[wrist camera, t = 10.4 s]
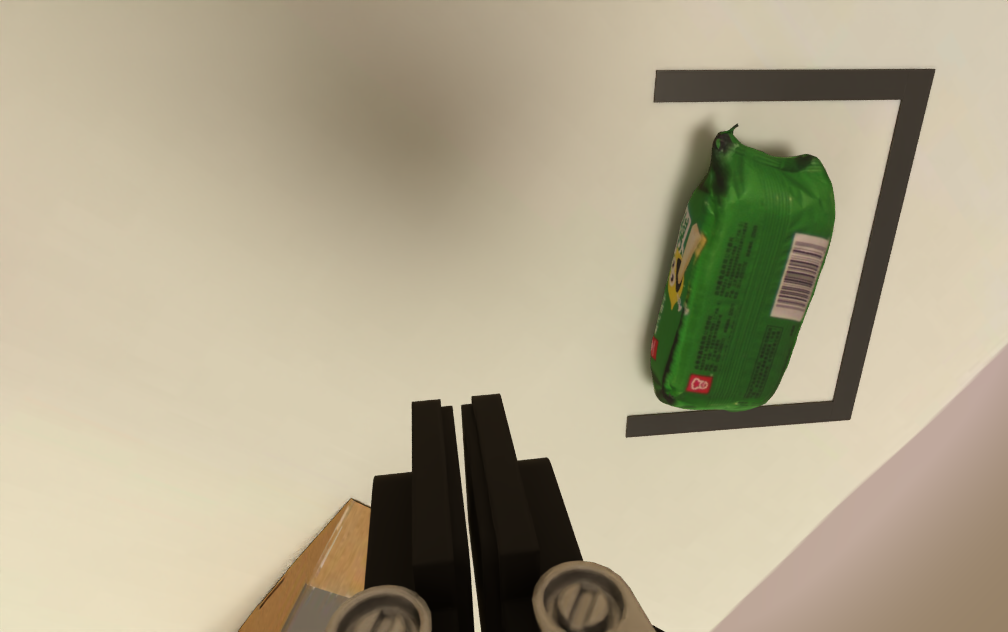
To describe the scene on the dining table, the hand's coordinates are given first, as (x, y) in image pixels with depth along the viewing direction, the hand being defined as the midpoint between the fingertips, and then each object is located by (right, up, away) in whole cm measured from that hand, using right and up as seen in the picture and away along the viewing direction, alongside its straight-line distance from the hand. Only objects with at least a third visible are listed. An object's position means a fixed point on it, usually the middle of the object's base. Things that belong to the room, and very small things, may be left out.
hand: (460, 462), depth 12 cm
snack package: (+13, +5, +24) cm, 27 cm away
